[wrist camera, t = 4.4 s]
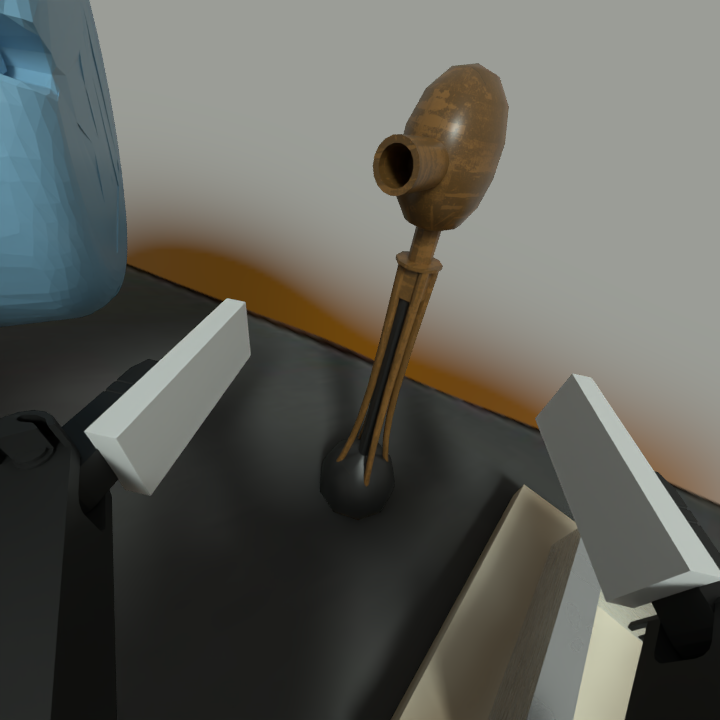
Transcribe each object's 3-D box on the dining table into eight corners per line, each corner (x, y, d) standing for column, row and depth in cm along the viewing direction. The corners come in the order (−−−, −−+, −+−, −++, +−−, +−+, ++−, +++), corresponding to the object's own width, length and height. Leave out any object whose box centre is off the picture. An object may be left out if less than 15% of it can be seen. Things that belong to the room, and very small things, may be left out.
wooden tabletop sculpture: (356, 552, 17) (571, 29, 4) (293, 501, 18) (307, 9, 6) (402, 474, 21) (581, 91, 8) (348, 438, 22) (427, 70, 10)
